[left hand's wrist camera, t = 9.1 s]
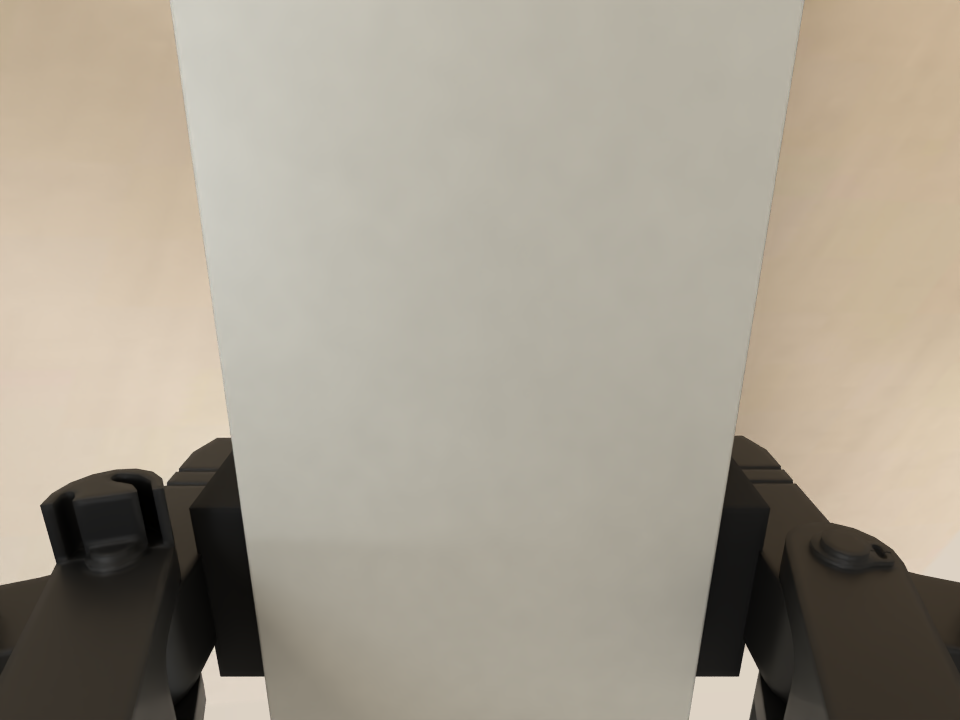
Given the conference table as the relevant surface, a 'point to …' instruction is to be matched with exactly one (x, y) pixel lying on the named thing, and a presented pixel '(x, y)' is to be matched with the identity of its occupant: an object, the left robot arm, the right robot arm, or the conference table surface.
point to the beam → (483, 335)
